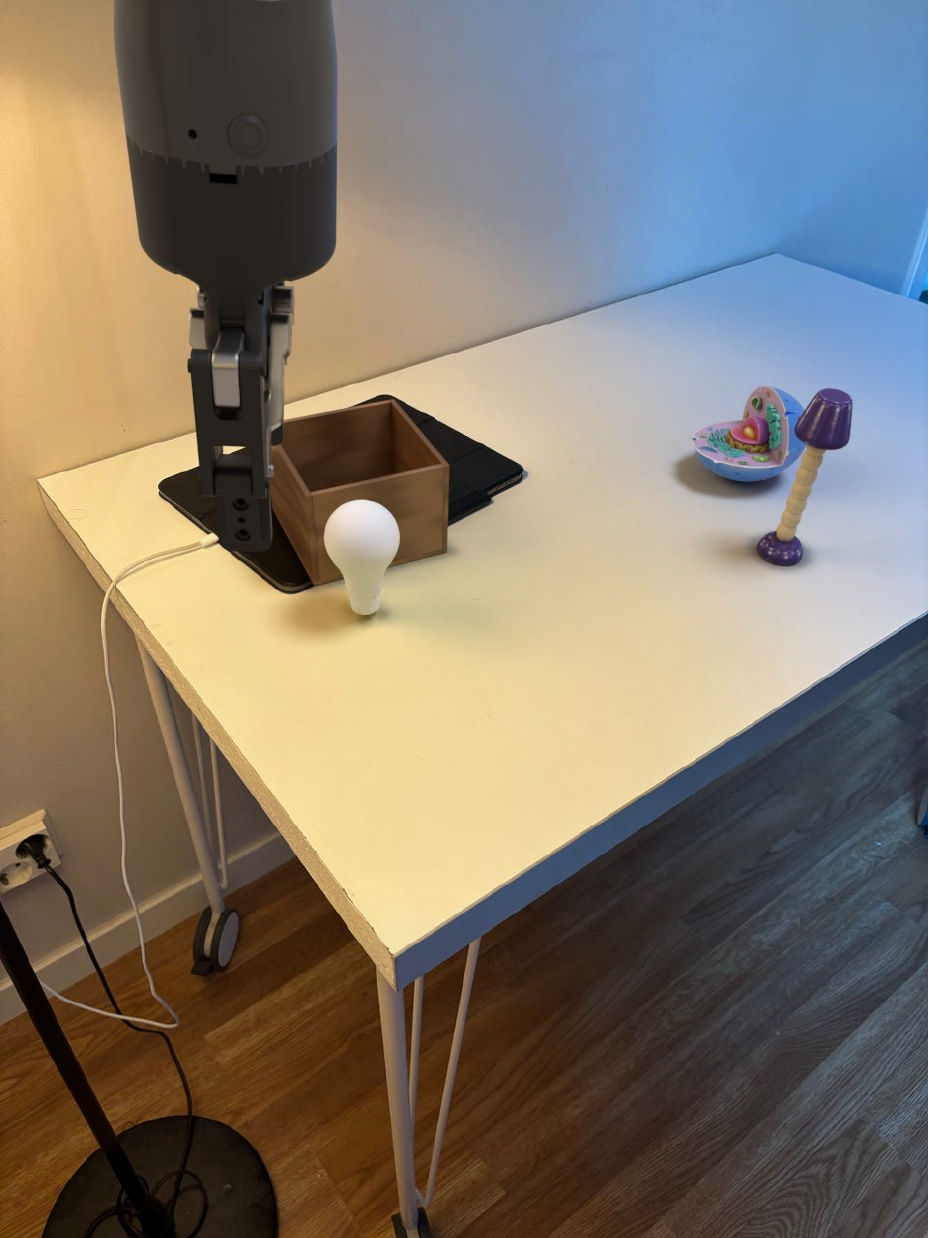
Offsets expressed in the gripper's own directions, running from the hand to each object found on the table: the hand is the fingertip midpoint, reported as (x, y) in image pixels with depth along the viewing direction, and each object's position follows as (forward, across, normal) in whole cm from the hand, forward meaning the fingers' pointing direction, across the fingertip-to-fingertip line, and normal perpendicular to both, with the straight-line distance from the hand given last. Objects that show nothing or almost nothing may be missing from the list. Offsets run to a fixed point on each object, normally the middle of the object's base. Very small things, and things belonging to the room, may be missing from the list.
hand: (254, 490), depth 45 cm
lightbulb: (+29, -23, +6) cm, 38 cm away
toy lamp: (+27, -30, +46) cm, 61 cm away
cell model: (+27, -44, +46) cm, 69 cm away
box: (+29, -35, +6) cm, 46 cm away
